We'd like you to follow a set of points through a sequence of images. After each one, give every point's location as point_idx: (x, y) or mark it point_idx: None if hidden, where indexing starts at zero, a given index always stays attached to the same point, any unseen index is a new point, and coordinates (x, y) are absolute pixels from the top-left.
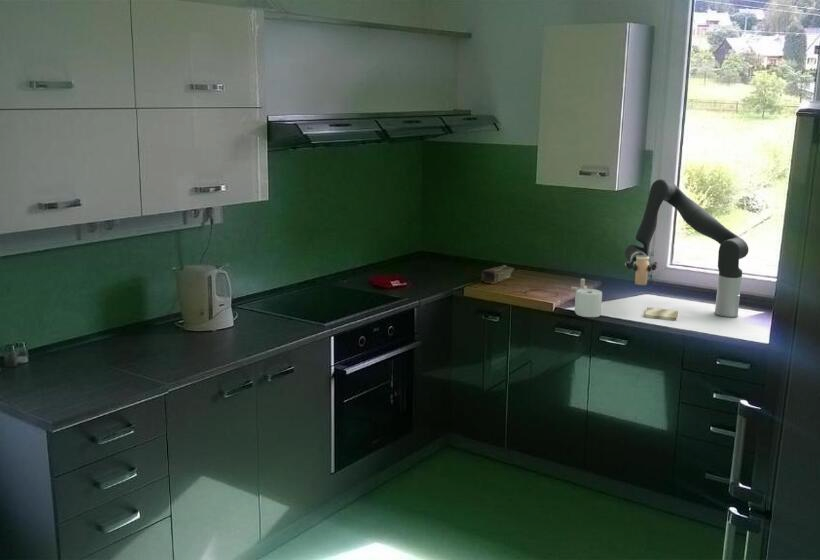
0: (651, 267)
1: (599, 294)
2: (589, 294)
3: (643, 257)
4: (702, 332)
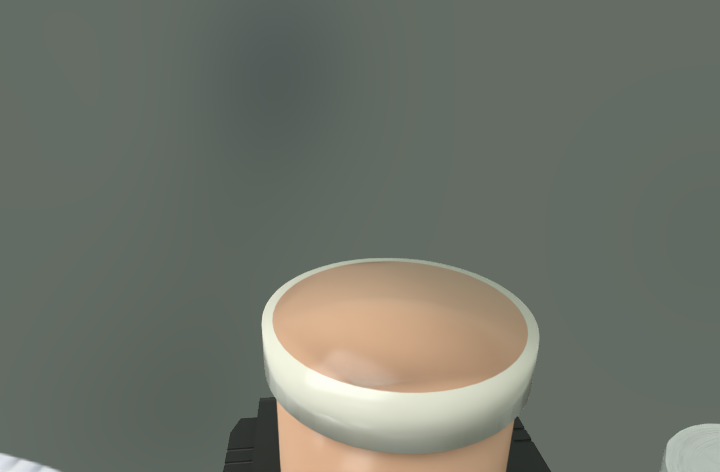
0: (238, 424)
1: (665, 455)
2: (715, 430)
3: (376, 263)
4: (40, 465)
